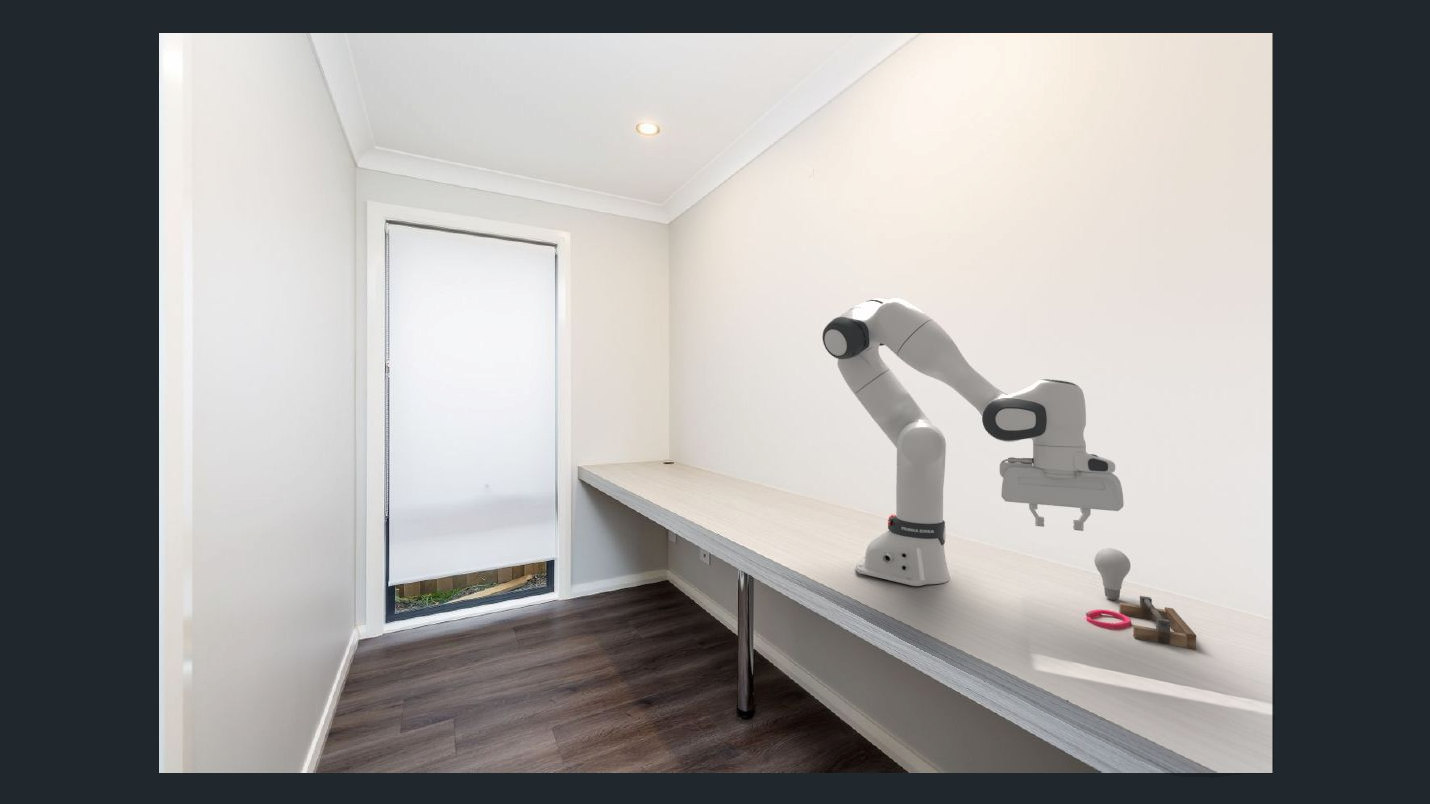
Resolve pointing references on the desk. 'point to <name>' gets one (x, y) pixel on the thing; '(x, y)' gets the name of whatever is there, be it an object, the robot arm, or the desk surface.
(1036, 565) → the desk surface
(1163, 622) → the wooden bar clamp
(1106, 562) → the lightbulb
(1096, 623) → the fitness band
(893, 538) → the robot arm
